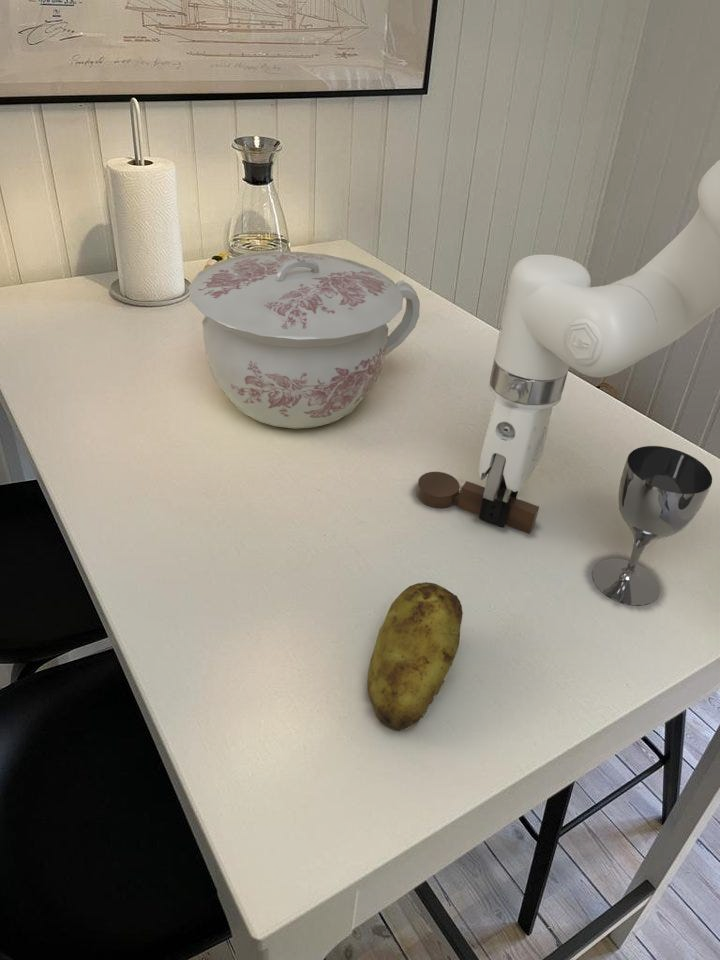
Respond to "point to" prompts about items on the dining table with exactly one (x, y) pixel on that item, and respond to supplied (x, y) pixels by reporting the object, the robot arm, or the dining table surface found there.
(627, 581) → the wine glass
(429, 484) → the wooden spoon
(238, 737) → the dining table surface
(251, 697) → the dining table surface
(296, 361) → the chamber pot
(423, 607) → the potato
